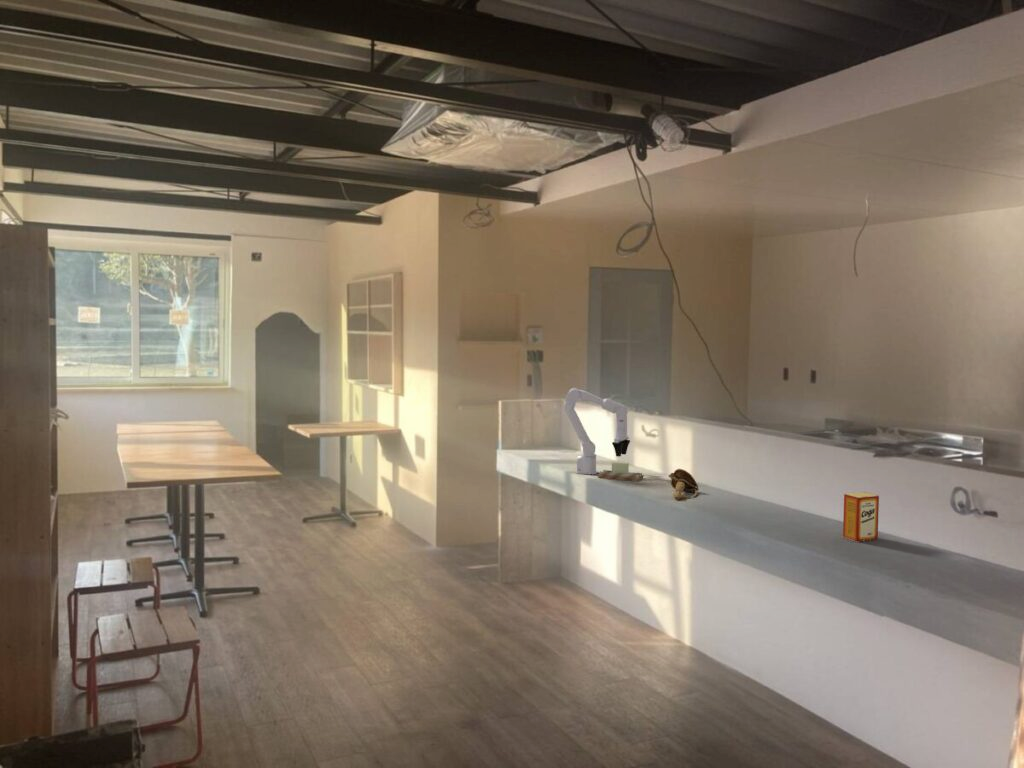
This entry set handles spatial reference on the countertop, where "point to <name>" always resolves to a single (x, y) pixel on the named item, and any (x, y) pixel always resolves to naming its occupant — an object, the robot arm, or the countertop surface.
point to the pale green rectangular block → (620, 467)
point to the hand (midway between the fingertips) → (621, 455)
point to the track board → (620, 475)
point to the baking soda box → (860, 516)
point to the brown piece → (682, 483)
